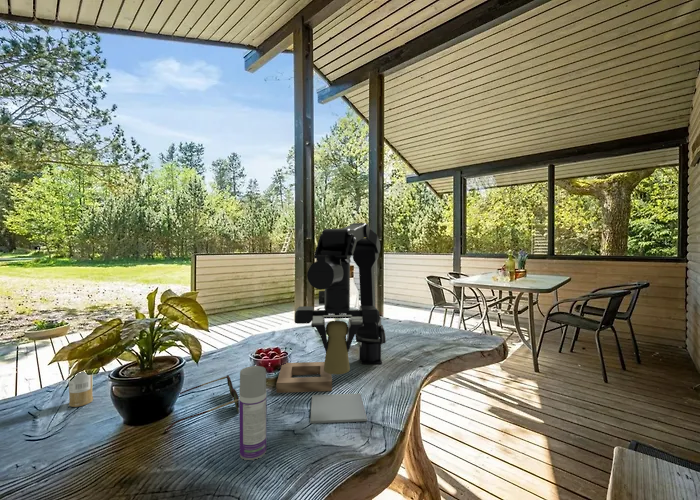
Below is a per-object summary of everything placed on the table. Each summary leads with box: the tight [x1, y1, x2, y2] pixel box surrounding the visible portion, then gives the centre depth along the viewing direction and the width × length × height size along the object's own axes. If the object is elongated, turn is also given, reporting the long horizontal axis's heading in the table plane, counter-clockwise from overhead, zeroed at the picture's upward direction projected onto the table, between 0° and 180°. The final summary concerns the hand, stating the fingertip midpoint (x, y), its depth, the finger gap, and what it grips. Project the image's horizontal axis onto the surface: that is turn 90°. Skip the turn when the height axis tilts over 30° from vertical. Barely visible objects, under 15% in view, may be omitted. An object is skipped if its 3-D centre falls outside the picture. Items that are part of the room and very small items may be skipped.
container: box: [238, 365, 268, 461], centre depth 61 cm, size 5×5×15 cm
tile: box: [310, 392, 368, 424], centre depth 77 cm, size 12×12×1 cm
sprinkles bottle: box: [68, 366, 94, 408], centre depth 79 cm, size 5×5×14 cm
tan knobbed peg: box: [324, 320, 351, 375], centre depth 77 cm, size 6×6×11 cm
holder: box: [275, 361, 333, 394], centre depth 92 cm, size 14×14×2 cm
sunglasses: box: [164, 374, 240, 432], centre depth 76 cm, size 14×15×5 cm
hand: (337, 351), depth 77 cm, fingers closed on tan knobbed peg, 4 cm apart
